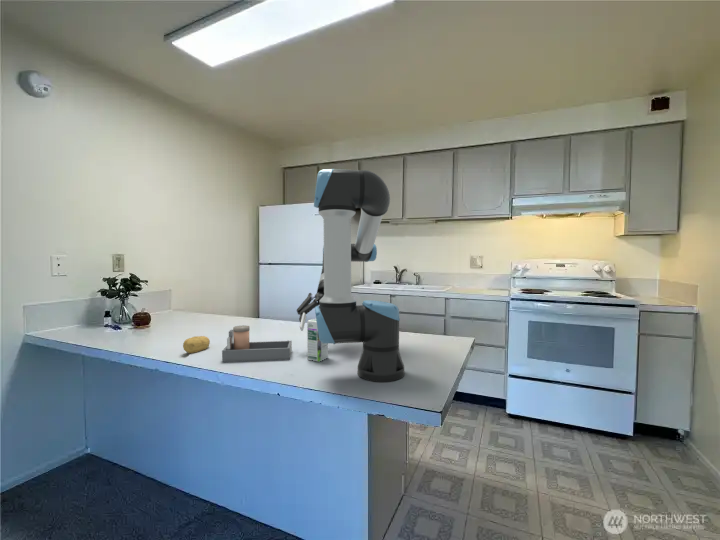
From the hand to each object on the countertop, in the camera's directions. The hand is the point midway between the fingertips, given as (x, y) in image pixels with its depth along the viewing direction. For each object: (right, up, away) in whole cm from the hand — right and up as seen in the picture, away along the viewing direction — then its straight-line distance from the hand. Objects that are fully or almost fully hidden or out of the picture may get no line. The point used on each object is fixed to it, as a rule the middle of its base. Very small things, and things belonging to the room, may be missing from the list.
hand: (318, 329), depth 127 cm
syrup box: (0, -11, -3) cm, 11 cm away
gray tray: (-22, -10, -2) cm, 24 cm away
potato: (-49, -10, +6) cm, 50 cm away
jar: (-28, -9, -3) cm, 29 cm away
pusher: (-31, -9, -4) cm, 33 cm away
